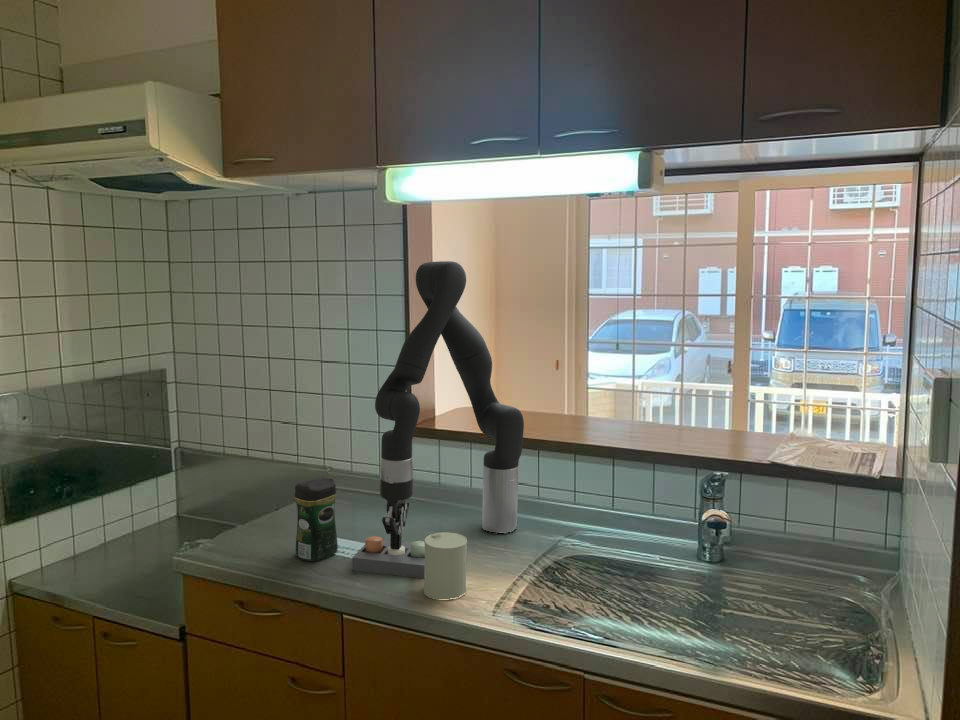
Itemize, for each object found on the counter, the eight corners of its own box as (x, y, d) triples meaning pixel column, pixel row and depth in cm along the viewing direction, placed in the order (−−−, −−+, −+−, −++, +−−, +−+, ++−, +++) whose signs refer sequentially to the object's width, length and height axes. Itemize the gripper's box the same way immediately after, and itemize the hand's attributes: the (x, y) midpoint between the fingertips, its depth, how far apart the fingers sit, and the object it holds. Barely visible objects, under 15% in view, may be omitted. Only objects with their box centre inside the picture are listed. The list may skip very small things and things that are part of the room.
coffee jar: (320, 544, 183) (320, 471, 180) (342, 552, 178) (342, 478, 175) (289, 556, 175) (288, 480, 172) (311, 565, 170) (310, 487, 168)
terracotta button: (368, 547, 175) (368, 535, 175) (384, 549, 175) (384, 537, 174) (362, 554, 172) (362, 541, 171) (379, 555, 171) (379, 543, 170)
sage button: (413, 552, 173) (413, 540, 173) (429, 554, 172) (429, 541, 172) (408, 559, 169) (408, 546, 169) (424, 560, 168) (425, 548, 168)
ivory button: (390, 556, 174) (391, 544, 174) (407, 558, 174) (407, 545, 173) (385, 563, 171) (385, 550, 170) (401, 564, 170) (401, 552, 169)
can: (443, 578, 165) (444, 526, 163) (475, 590, 159) (476, 537, 158) (414, 591, 158) (415, 538, 156) (446, 605, 152) (447, 549, 151)
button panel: (370, 550, 180) (370, 538, 179) (438, 557, 176) (438, 545, 176) (352, 570, 168) (352, 557, 168) (424, 578, 165) (424, 565, 164)
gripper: (390, 467, 177) (389, 536, 179) (370, 483, 164) (370, 557, 166) (420, 469, 175) (419, 539, 177) (403, 486, 162) (402, 561, 165)
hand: (395, 548), depth 172 cm, fingers closed
